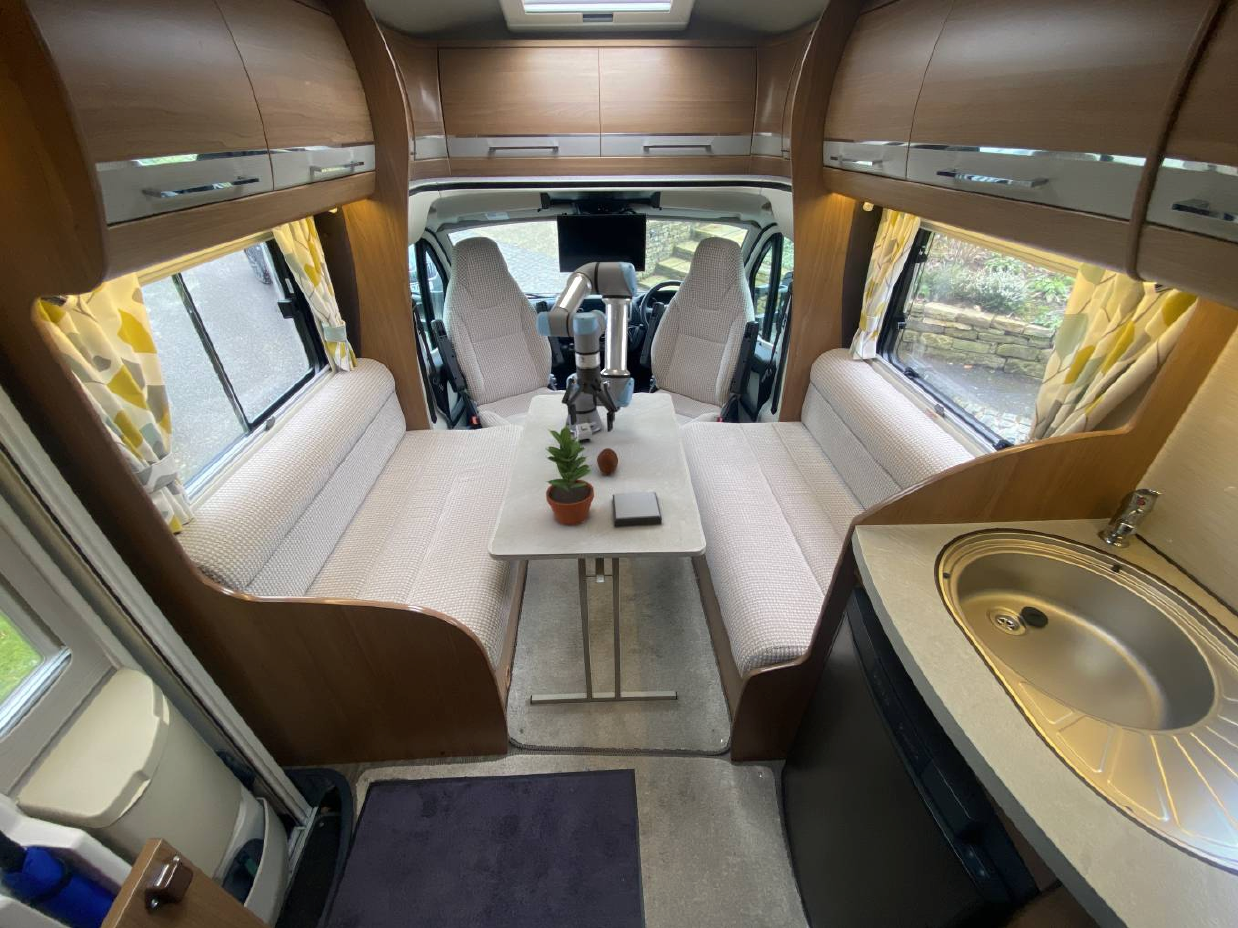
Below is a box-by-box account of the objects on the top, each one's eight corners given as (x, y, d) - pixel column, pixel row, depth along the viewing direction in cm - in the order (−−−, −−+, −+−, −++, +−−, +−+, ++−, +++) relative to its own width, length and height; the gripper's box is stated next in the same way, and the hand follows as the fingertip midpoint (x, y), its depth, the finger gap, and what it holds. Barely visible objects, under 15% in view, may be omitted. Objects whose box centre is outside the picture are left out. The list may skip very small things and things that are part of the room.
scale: (612, 500, 161) (612, 492, 160) (655, 498, 162) (655, 490, 160) (614, 526, 149) (614, 518, 147) (661, 524, 150) (661, 516, 148)
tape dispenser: (576, 446, 198) (579, 436, 188) (572, 431, 200) (575, 421, 190) (590, 444, 199) (594, 434, 190) (586, 429, 201) (589, 418, 192)
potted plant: (602, 523, 150) (598, 435, 135) (553, 533, 147) (542, 443, 132) (591, 497, 163) (585, 413, 148) (545, 506, 159) (534, 421, 144)
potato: (596, 478, 173) (595, 458, 169) (598, 462, 183) (597, 442, 179) (618, 478, 173) (617, 458, 169) (618, 461, 183) (618, 442, 179)
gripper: (547, 364, 156) (553, 425, 167) (619, 374, 147) (621, 437, 158) (559, 357, 162) (564, 416, 173) (629, 366, 153) (630, 428, 163)
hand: (591, 426), depth 165 cm, fingers open, 13 cm apart
